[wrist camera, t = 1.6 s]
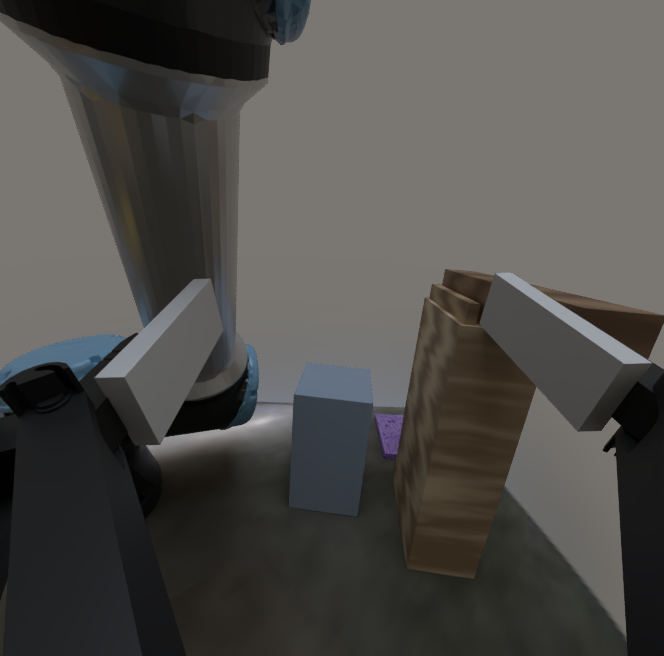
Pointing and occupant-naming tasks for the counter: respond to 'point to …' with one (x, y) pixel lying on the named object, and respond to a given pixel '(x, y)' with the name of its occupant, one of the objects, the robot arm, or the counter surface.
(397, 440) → the sponges
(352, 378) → the blue step
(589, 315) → the walnut bar
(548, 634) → the counter surface
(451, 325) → the oak post
